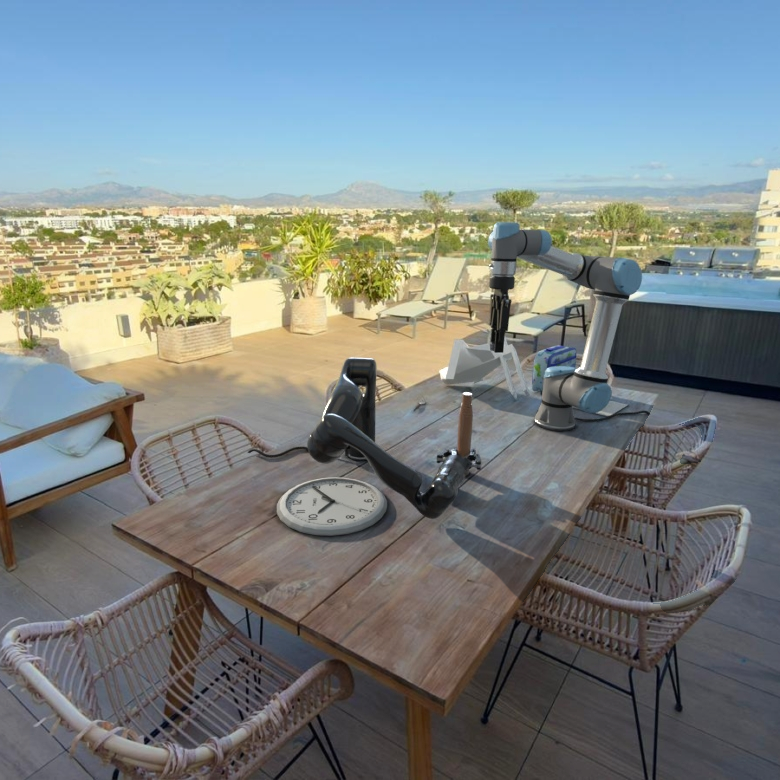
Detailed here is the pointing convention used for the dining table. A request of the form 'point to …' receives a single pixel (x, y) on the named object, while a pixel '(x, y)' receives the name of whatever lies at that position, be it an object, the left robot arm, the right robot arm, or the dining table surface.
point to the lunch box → (551, 363)
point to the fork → (420, 403)
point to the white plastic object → (480, 364)
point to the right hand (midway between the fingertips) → (496, 350)
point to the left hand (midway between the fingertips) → (465, 449)
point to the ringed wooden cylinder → (465, 425)
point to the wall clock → (331, 506)
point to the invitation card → (611, 408)
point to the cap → (492, 346)
